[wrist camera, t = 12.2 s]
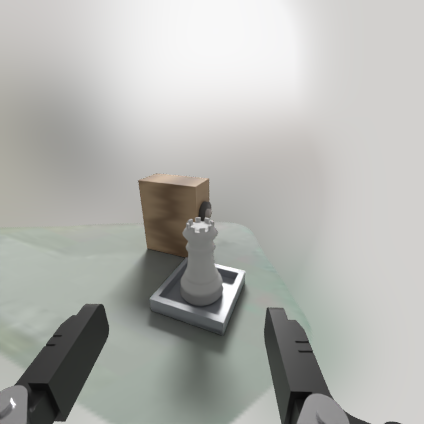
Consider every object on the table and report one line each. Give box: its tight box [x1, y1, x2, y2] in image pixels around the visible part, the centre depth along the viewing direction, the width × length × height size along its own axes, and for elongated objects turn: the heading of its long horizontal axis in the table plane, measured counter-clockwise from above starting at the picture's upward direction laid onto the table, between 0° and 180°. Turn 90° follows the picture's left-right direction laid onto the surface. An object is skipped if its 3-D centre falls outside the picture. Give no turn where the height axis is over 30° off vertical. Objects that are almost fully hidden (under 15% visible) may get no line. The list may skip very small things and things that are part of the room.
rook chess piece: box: [180, 217, 223, 306], centre depth 22 cm, size 4×4×8 cm
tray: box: [149, 257, 245, 336], centre depth 23 cm, size 7×7×2 cm
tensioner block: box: [138, 174, 212, 258], centre depth 30 cm, size 9×4×10 cm, turn 68°
